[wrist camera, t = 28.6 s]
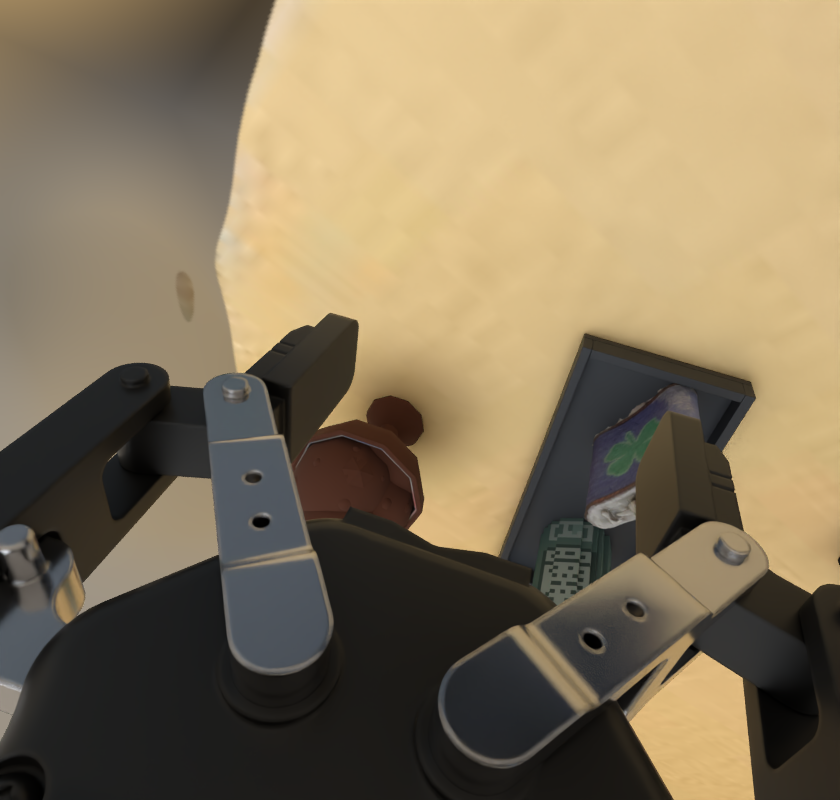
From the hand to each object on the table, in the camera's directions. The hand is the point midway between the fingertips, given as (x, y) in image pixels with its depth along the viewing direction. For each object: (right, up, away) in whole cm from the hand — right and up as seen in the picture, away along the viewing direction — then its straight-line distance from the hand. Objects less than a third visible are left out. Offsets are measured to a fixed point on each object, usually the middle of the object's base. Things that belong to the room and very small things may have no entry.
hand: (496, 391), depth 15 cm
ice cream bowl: (-4, -2, +38) cm, 38 cm away
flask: (+15, -2, +29) cm, 33 cm away
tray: (+14, -8, +34) cm, 38 cm away
